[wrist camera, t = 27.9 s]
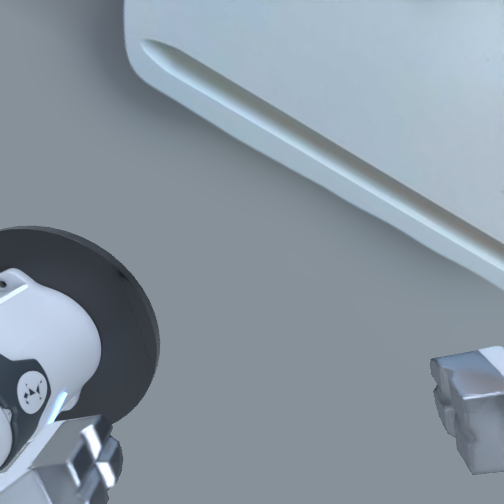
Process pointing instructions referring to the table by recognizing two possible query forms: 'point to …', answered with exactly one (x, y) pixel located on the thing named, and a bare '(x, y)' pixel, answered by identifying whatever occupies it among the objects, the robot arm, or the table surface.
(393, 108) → the table surface
